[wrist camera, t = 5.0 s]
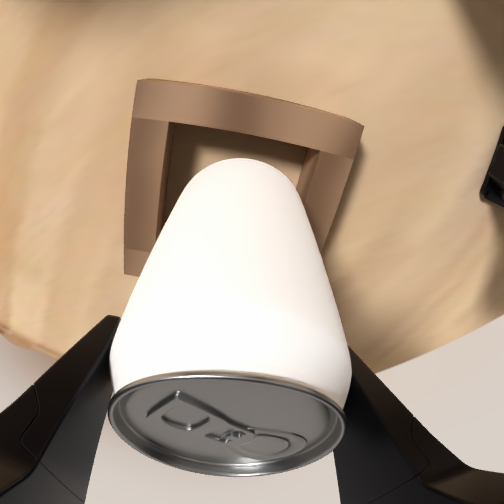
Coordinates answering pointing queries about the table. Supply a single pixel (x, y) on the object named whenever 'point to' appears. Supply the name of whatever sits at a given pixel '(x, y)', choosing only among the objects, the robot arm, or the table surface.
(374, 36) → the table surface
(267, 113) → the wooden square frame
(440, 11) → the table surface
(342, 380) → the can
